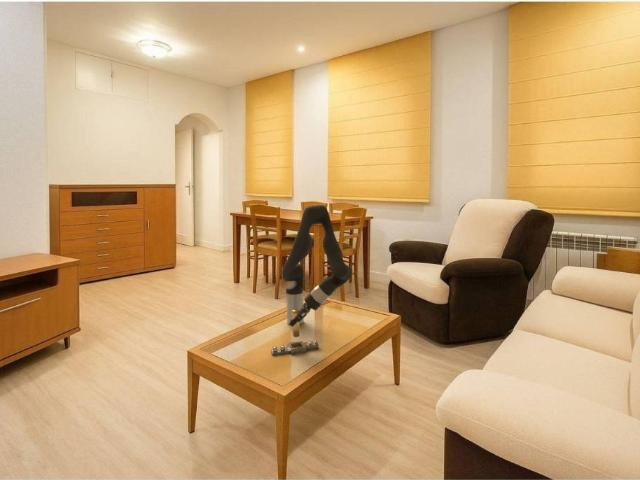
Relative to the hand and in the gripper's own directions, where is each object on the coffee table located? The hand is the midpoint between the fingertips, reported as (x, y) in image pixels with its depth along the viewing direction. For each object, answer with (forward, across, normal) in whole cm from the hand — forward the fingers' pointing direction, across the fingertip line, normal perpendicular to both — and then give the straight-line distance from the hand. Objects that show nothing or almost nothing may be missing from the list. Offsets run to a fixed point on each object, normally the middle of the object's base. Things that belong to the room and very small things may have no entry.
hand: (291, 323), depth 176 cm
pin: (+3, 0, +6) cm, 6 cm away
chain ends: (+8, 0, +10) cm, 13 cm away
